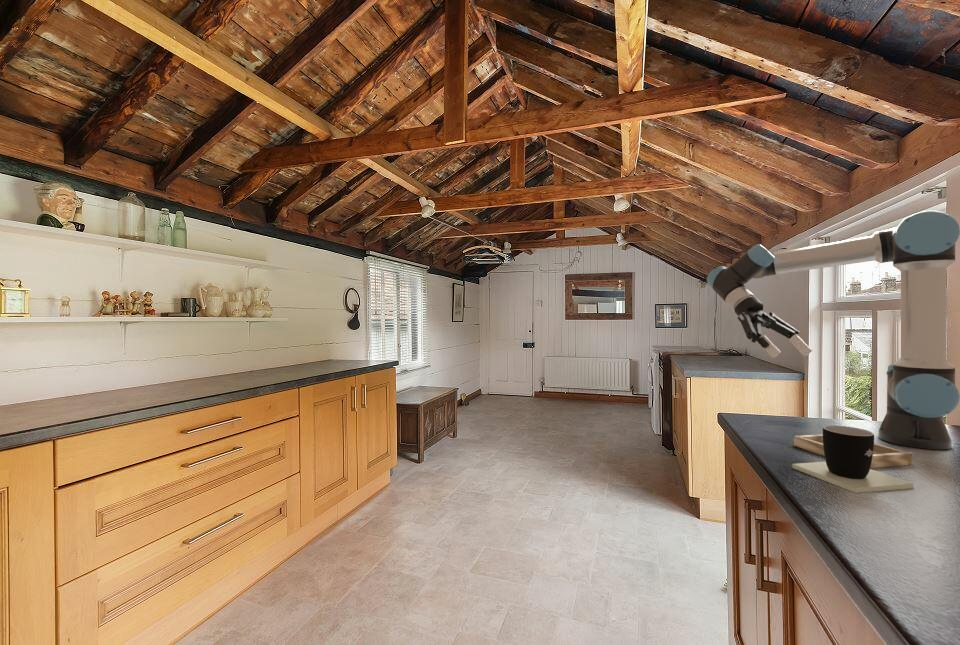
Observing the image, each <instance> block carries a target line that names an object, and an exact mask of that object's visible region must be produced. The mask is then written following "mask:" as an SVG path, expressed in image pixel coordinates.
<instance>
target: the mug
mask: <svg viewBox="0 0 960 645" xmlns="http://www.w3.org/2000/svg"><path fill="white" fill-rule="evenodd" d="M822 434H823V447H824V455H825V456H824V460H825V461H824V462H826V465H827V467H828V469H829V471H830V472H831V473H833V474H835V475H838V476H841V477H845V478H851V479H864V478H865V477H866V476H867V475H868V473H869V470H870V469H871V468H870V467H871V462H872V457H873V449H874V443H875V434H874V432H872V431H870V430H867V429H863V428H858V427H854V426H847V425H835V424H834V425H831V424H830V425H824V426H822Z"/></svg>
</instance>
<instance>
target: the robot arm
mask: <svg viewBox="0 0 960 645" xmlns="http://www.w3.org/2000/svg"><path fill="white" fill-rule="evenodd" d="M959 236H960V224H959V223H958V221H957V220H956V218H954V217H953V216H952V215H950V214H948V213H946V212H943V211H939V210H925V211H919V212H917V213H914V214H911V215H908V216H907V217H905V218H903V219H902V220H901V221H900V222H899V223H897V225H896V226H894V227H892V228H889V229H885V230H879V231H875V232H874V233H873V234H872V235H870V236H869V235H868V236H863V237H858V238H852V239H845V240H841V241H836V242H835V241H834V242H830V243H824V244H817V245H812V246H805V247H801V248H799V247H798V248H794V249H789V250H788V249H787V250H784V251H777V252H770V251H769V250H768V249H767V248H766V247H764V246H763V245H762V244H759V243H757V244H755V245H754V246H753V247H751V248H750V249H748V250H747V251H746V252H745V253H744V254H743V255H741V257H739V258H738V259H737V260H736V261H734V262H733V263H732V264H731V265H730V266H728V267H727V266H724V265H723V266H722V265H721V266H717V268H713V269H712V270H711V271H710V272H709V273H708V275H707V278H706V281H707V283H708V285H709V286H710V287H711V288H712V290H713V291H714V292H716V294H717V296H719V297H720V298H721V299H722V300H723V301H724V302H725V303H726V304H727V305H728V307H729V309H731V310H732V311H733V312H734V313H735V314H736V315H737V320H738V321H739V322H740V324H741V326H742V329H743V331H744V333H745V336H746V338H747V339H748V340H750V341H751V342H752V343H754V344H755V343H756V342H757V343H758V344H759V345H760V346H761V348H763V350H764V351H765V352H767V354H768V355H769V356H770V357H771V358H772V359H775V358H777V357H778V356H779V355H780V354H781V353H782V351H781V350H780V349H779V348H778V346H776V344H774V343H773V342H772V341H771V340H770V339H769V338H768V336H767V335H766V334H764V335H763V329H762V328H766V329H767V330H770V329H771V330H773V331H775V332H776V333H778V334H779V335H782V336H783V337H785V338H787V339H788V341H789V343H791V344H792V345H793V347H794V348H795V349H796V350H797V351H798V352H799V353H800V354H801V355H802V356H803V357H807V356H808V355H809V354H811V352H813V349H812V347H811V346H809V345H808V344H807V343H806V342H805V341H804V339H802V337H800V336H799V334H800V332H801V331H800V330H798V329H797V328H795V327H794V326H792V325H791V324H790V323H788V322H786V321H785V320H784V319H782V318H780V317H779V316H778V315H777V314H775V313H774V312H773V311H770V312H769V313H767V312H765V311H764V304H763V302H762V301H761V300H759V299H758V297H756V296H755V294H754V293H753V292H751V291H750V290H749V289H748V288H747V287H746V286H745V285H746V284H747V283H748V282H750V281H751V280H752V279H761V278H762V279H763V278H764V277H770V276H776V275H782V274H789V273H796V272H803V271H810V270H816V269H817V270H819V269H823V268H824V269H825V268H831V267H837V266H838V267H839V266H845V265H852V264H853V265H854V264H859V263H866V262H872V261H873V262H874V261H875V262H877V263H879V264H883V263H891V262H892V266H893V268H896V270H899V272H900V358H899V359H898V360H896V361H895V362H893V363H891V364H889V365H888V366H887V371H886V375H887V376H886V377H887V378H886V380H887V383H886V388H887V389H886V390H887V391H886V413H885V416H884V417H883V419H882V422H881V424H880V427H879V428H878V438H879V439H880V440H883V441H885V442H888V443H892V444H894V445H895V444H896V445H900V446H905V447H911V448H918V449H925V450H936V451H940V450H942V451H943V450H950V449H952V445H953V444H952V438H951V436H950V434H949V431H948V429H947V426H946V423H945V421H944V416H947V415H948V414H950V413H952V412H954V410H955V409H956V408H957V407H958V405H959V402H960V393H959V389H958V388H957V386H956V366H954V364H952V363H951V362H949V361H948V360H947V354H948V353H947V351H948V350H947V348H948V347H947V344H948V343H947V341H948V340H947V334H948V333H947V331H948V329H947V325H948V324H947V312H948V311H947V309H948V308H947V302H948V301H947V299H948V298H947V294H948V293H947V284H948V283H947V281H948V279H947V278H948V276H947V273H948V272H947V269H948V268H949V267H950V266H952V265H953V264H954V263H956V243H957V242H958V239H959Z"/></svg>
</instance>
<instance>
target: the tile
mask: <svg viewBox="0 0 960 645" xmlns="http://www.w3.org/2000/svg"><path fill="white" fill-rule="evenodd" d="M791 465H792V467H791V468H792V469H794V470H796V471H799V472H802V473H805V474H807V475H809V476H812V477H815V478H817V479H819V480H822V481H824V482H828V483H829V484H832V485H835V486H837V487H840V488H843V489H845V490H847V491H850V492H852V493H855V494H859V493H861V494H862V493H869V492H870V493H873V492H883V491H893V490H894V491H895V490H896V491H897V490H906V489H908V490H909V489H914V485H915V484H914V482H910V481H908V480H907V481H906V480H904V479H900V478H898V477H895V476H892V475H889V474H886V473H883V472H881V471H878V470H875V469H873V468H870V470H869V473H868V475H867V476H866V477H865V478H864V479H851V478H845V477H841V476H838V475H835V474H833V473H831V472H830V471H829V469H828V467H827V465H826V461H816V462H814V461H813V462H801V463H798V462H797V463H792V464H791Z"/></svg>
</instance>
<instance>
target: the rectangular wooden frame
mask: <svg viewBox="0 0 960 645" xmlns="http://www.w3.org/2000/svg"><path fill="white" fill-rule="evenodd" d="M793 446H794V447H796V446H797V448H801V449H803V450H806V451H808V452H812V453H814V454H816V455H817V454H818V455H820V456H824V457H825V455H824V447H823V433H821V434H808V435H807V434H806V435H794V436H793ZM909 465H910V466H911V465H912V466H913V453H911V452H909V451H905V450H901V449H897V448H894V447H889V446H886V445H883V444H879V443H875V442H874V449H873V457H872V462H871V467H870V469H873V468H884V467H896V466H909Z"/></svg>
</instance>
